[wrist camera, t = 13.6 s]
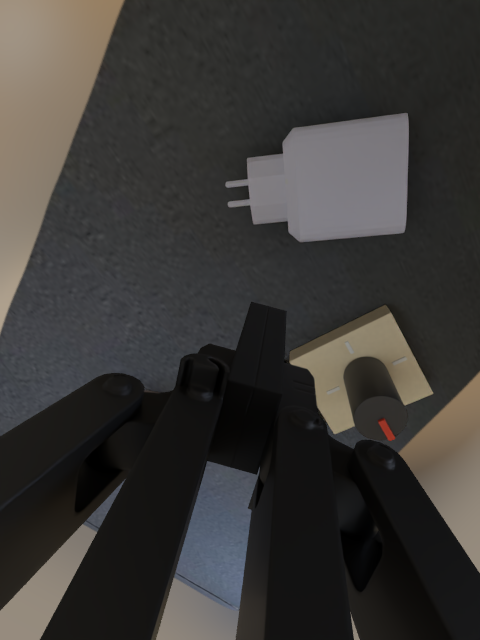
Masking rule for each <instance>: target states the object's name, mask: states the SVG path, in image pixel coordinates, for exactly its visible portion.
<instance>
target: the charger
mask: <svg viewBox="0 0 480 640" xmlns="http://www.w3.org/2000/svg"><path fill="white" fill-rule="evenodd" d="M408 147H409V121H408V114H407V113H401V114H394V115H386V116H379V117H371V118H364V119H356V120H349V121H341V122H334V123H327V124H319V125H312V126H304V127H297V128H293V129H292V130H291V132H290V133H289V134H288V136H287V137H286V138H285V140H284V141H283V154H276V155H268V156H260V157H252V158H247V173H248V179H245V180H237V181H228V182H226V187H227V188H230V187H239V186H249V196H250V199H247V200H238V201H229V202H228V206H229V207H239V206H248V205H250V206H251V213H252V220H253V224H264V223H274V222H284V221H288V230H289V233H290V234H291V235H292V236H293V237H295V238H296V239H297V240H298V241H299V242H310V241H321V240H332V239H343V238H354V237H365V236H376V235H387V234H398V233H404V231H405V227H406V215H407V181H408Z"/></svg>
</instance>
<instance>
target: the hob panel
mask: <svg viewBox="0 0 480 640" xmlns="http://www.w3.org/2000/svg"><path fill="white" fill-rule="evenodd" d="M360 357H373V358H376V359H378V360H380V361H381V362H383V363H384V365H385V366H386V368H387V370H388V372H389V374H390V376H391V378H392V380H393V383H394V385H395V387H396V389H397V391H398V393H399V395H400V397H401V400H402V402H403V404H404V406H405V405H407V404H410V403H412V402H415V401H417V400H420V399H422V398H424V397H427V396H429V395H432V394H433V392H432V390H431V388H430V386H429V384H428V382H427V380H426V378H425V376H424V375H423V373H422V371H421V369H420V367H419V365H418V363H417V361H416V359H415V357H414V355H413V353H412V352H411V350H410V348H409V346H408V344H407V342H406V340H405V338H404V336H403V334H402V332H401V330H400V329H399V327H398V325H397V323H396V321H395V319H394V317H393V315H392V313H391V312H390V310H389V309H388V307H387V306H386V305H384V306H382V307H379V308H377V309H375V310H373V311H371V312H369V313H367V314H365V315H363V316H361V317H359V318H357V319H355V320H353V321H351V322H349V323H347V324H345V325H343V326H341V327H339V328H337V329H335V330H333V331H331V332H329V333H326V334H324V335H322V336H320V337H318V338H316V339H314V340H312V341H310V342H308V343H306V344H304V345H302V346H300V347H298V348H296V349H294V350H292V351H290V363H291V365H295V366H298V367H302V368H306V369H308V370H309V371H310V373H311V374H312V376H313V377H314V381H315V391H316V394H315V395H316V401H317V407H318V409H319V410H320V412H321V413H322V415H323V417H324V418H325V420H326V422H327V423H328V425H329V426H330V428H331V430H332V431H333V433H334V434H337V433H339V432H341V431H344V430H346V429H349V428H351V427H354V426H355V425H354V421H353V417H352V413H351V409H350V404H349V400H348V396H347V392H346V388H345V383H344V379H343V375H344V371H345V368H346V367H347V365H348V364H349V363H350V362H352V361H353V360H355V359H357V358H360Z"/></svg>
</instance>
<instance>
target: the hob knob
mask: <svg viewBox="0 0 480 640" xmlns="http://www.w3.org/2000/svg"><path fill="white" fill-rule="evenodd" d="M343 379H344V383H345V388H346V392H347V396H348V400H349V404H350V409H351V413H352V417H353V421H354V425H355V427H356V429H357V430H358V431H359V432H360V433H361V434H362V435H363V436H365V437H367V438H370V439H373V440H386V439H388V440H389V441H391V440H394V439H395V436H396V435H398V434H399V433H400V432H401V431H402V430H403V429H404V428H405V426H406V424H407V420H408V414H407V410H406V408H405V406H404V404H403V402H402V400H401V397H400V395H399V393H398V391H397V389H396V387H395V385H394V383H393V380H392V378H391V376H390V374H389V372H388V370H387V368H386V366H385V365H384V363H383V362H381V361H380V360H378V359H376V358H373V357H360V358H357V359H355V360H353V361H352V362H350V363H349V364H348V365H347V367H346V368H345V371H344V375H343Z"/></svg>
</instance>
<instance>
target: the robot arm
mask: <svg viewBox="0 0 480 640" xmlns="http://www.w3.org/2000/svg"><path fill="white" fill-rule="evenodd" d="M286 312H287V311H284V310H280V309H277V308H273V307H269V306H265V305H262V304H258V303H254V302H251V304H250V307H249V311H248V314H247V317H246V320H245V323H244V327H243V330H242V333H241V336H240V339H239V343H238V346H237V349H236V351H235V350H231V349H228V348H224V347H220V346H216V345H213V344H208V345H206V346H204V347H202V348H200V350H199V352H198V354H189V355H186V356H184V357H183V358H182V359H181V361H180V366H179V371H178V376H177V381H176V386H175V388H174V390H173V391H170V392H165V393H148V392H144V385H143V384H142V383H141V381H140V380H138V379H136V378H135V377H133V376H130V375H127V374H122V373H121V374H120V373H111V374H104V375H102V376H99V377H97V378H95V379H93V380H92V381H90V382H88V383H87V384H85V385H84V386H82V387H80V388H79V389H77V390H75V391H74V392H72V393H71V394H69V395H67V396H66V397H64V398H62V399H61V400H59V401H57V402H56V403H54V404H53V405H51V406H49V407H48V408H46V409H44V410H43V411H41V412H39V413H38V414H36V415H35V416H33V417H31V418H30V419H28V420H26V421H25V422H23V423H22V424H20V425H18V426H17V427H15V428H13V429H12V430H10V431H8V432H7V433H5V434H4V435H2V436H0V610H1V609H2V608H3V607H4V606H5V605H6V604H7V603H8V602H9V601H10V600H11V599H12V598H13V597H14V595H15V594H16V593H17V592H18V591H19V590H20V589H21V588H22V587H23V586H24V585H25V584H26V583H27V582H28V581H29V580H30V579H31V578H32V576H34V575H35V573H36V572H37V571H38V570H39V569H40V568H41V567H42V566H43V565H44V564H45V563H46V562H47V561H48V560H49V559H50V558H51V557H52V556H53V554H54V553H55V552H56V551H57V550H58V549H59V548H60V547H61V546H62V545H63V544H64V543H65V542H66V541H67V540H68V539H69V538H70V536H72V534H73V533H74V532H75V531H76V530H77V529H78V528H79V527H80V526H81V525H82V524H83V523H84V522H85V521H86V520H87V519H88V518H89V517H90V516H91V514H92V513H93V512H94V511H95V510H96V509H97V508H98V507H99V506H100V505H101V504H102V503H103V502H104V501H105V500H106V499H107V498H108V497H109V495H110V494H111V493H112V492H113V491H114V490H115V489H116V488H117V487H118V486H119V485H120V484H121V483H122V482H123V481H124V480H125V479H126V480H125V482H124V483H123V485H122V487H121V489H120V491H119V493H118V495H117V496H116V498H115V500H114V502H113V504H112V506H111V508H110V510H109V511H108V513H107V515H106V517H105V519H104V521H103V523H102V525H101V526H100V528H99V530H98V532H97V534H96V536H95V538H94V540H93V541H92V543H91V545H90V547H89V549H88V551H87V553H86V555H85V557H84V558H83V560H82V562H81V564H80V566H79V568H78V569H77V571H76V574H75V575H74V577H73V579H72V581H71V583H70V585H69V586H68V588H67V590H66V592H65V594H64V596H63V598H62V600H61V602H60V603H59V605H58V607H57V609H56V611H55V613H54V614H53V616H52V618H51V620H50V622H49V624H48V626H47V628H46V629H45V631H44V633H43V635H42V637H41V639H40V640H156V637H157V634H158V630H159V627H160V623H161V620H162V616H163V613H164V609H165V606H166V602H167V599H168V596H169V592H170V588H171V585H172V582H173V578H174V575H175V571H176V568H177V564H178V561H179V557H180V554H181V551H182V547H183V544H184V540H185V537H186V533H187V530H188V526H189V523H190V519H191V516H192V512H193V509H194V505H195V502H196V499H197V495H198V492H199V488H200V485H201V481H202V478H203V474H204V471H205V467H206V463H207V461H210V462H214V463H217V464H221V465H224V466H228V467H231V468H235V469H239V470H242V471H246V472H249V473H253V474H256V475H257V473H258V470H259V467H260V472H259V476H258V479H257V482H256V485H255V488H254V491H253V494H252V497H251V500H250V503H249V507H248V509H252V513H251V521H250V529H249V537H248V545H247V553H246V561H245V569H244V577H243V585H242V593H241V601H240V609H239V618H238V626H237V634H236V640H354V638H353V630H352V623H351V614H352V618H353V621H354V624H355V627H356V629H357V633H358V636H359V638H360V640H480V573H479V572H478V571H477V569H476V567H475V566H474V564H473V563H472V561H471V560H470V558H469V557H468V555H467V554H466V552H465V551H464V549H463V548H462V546H461V545H460V543H459V542H458V540H457V539H456V537H455V536H454V534H453V533H452V531H451V530H450V528H449V527H448V525H447V524H446V522H445V521H444V519H443V518H442V516H441V515H440V513H439V512H438V510H437V509H436V507H435V506H434V504H433V503H432V501H431V500H430V498H429V497H428V495H427V494H426V492H425V491H424V489H423V488H422V486H421V485H420V483H419V482H418V480H417V479H416V477H415V476H414V474H413V473H412V471H411V470H410V468H409V467H408V465H407V464H406V462H405V461H404V460H403V458H402V457H401V456H400V455H399V454H398V453H397V452H395V451H394V450H393V449H391V448H390V447H389V446H387V445H384V444H383V443H380V442H376V441H372V440H361V441H359V442H358V443H356V445H355V448H354V449H352V448H350V447H348V446H346V445H344V444H342V443H340V442H339V441H337V440H335V439H333V438H332V437H331V436H329V435H328V432H327V426H326V424H325V421H324V420H323V419H322V418H321V417H320V416H319V415H318V410H317V401H316V395H315V394H316V391H315V381H314V377H313V376H312V374H311V373H310V371H309V370H308V369H306V368H302V367H298V366H295V365H291V364H287V363H284V355H285V333H286ZM378 530H379V531H378ZM350 612H351V614H350Z"/></svg>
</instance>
